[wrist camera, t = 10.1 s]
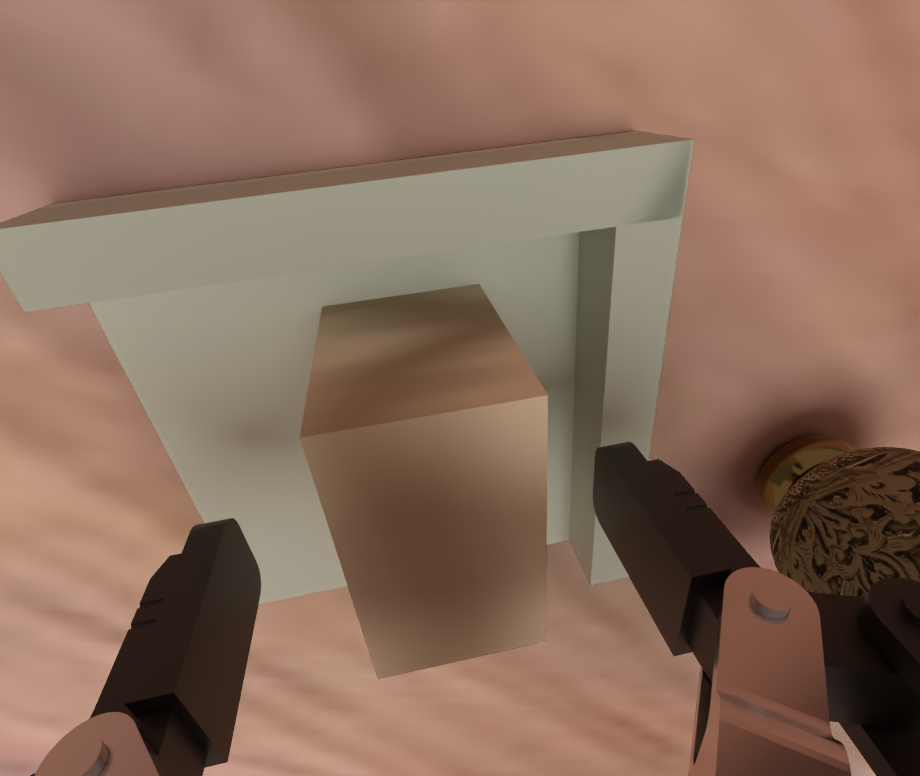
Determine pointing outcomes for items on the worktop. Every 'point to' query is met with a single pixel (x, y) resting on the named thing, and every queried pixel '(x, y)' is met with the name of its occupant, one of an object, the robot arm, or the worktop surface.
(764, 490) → the cup
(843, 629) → the robot arm
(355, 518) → the maple brick
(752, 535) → the worktop surface
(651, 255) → the corner tray
